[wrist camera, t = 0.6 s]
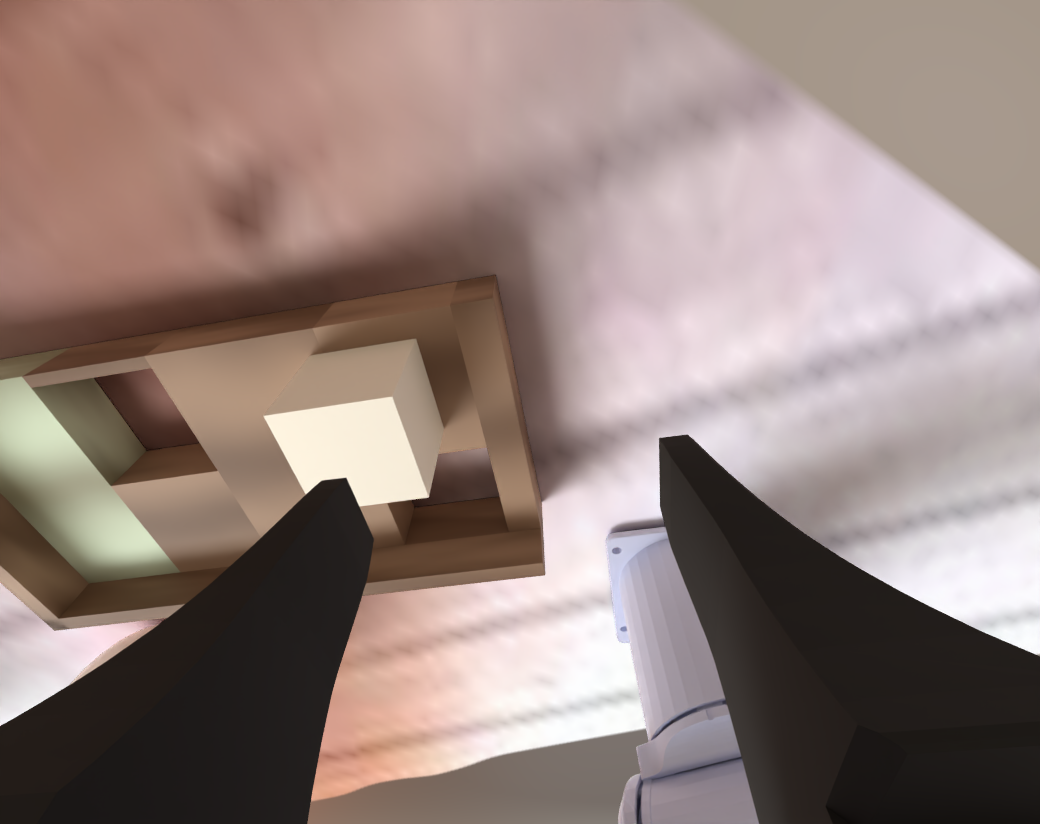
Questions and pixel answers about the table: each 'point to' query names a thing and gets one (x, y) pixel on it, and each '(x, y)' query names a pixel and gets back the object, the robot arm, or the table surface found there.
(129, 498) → the board
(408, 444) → the cream block
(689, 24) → the table surface
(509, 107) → the table surface
